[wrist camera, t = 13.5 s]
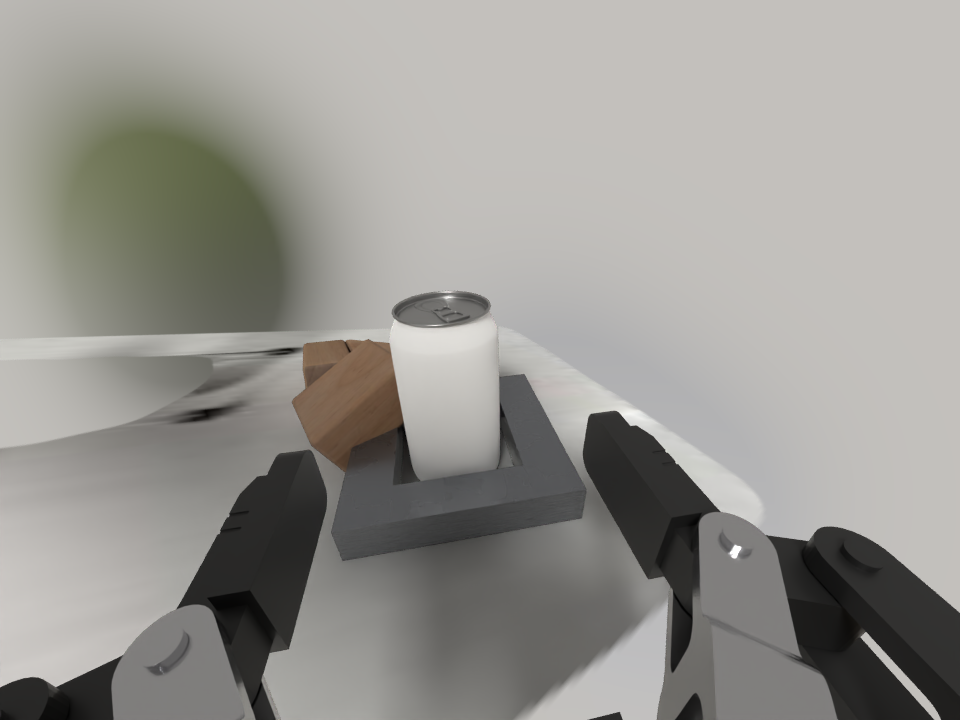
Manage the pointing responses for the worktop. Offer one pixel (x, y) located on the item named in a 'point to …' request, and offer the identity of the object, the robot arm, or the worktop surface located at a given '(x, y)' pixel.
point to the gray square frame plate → (458, 487)
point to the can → (448, 382)
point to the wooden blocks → (347, 396)
